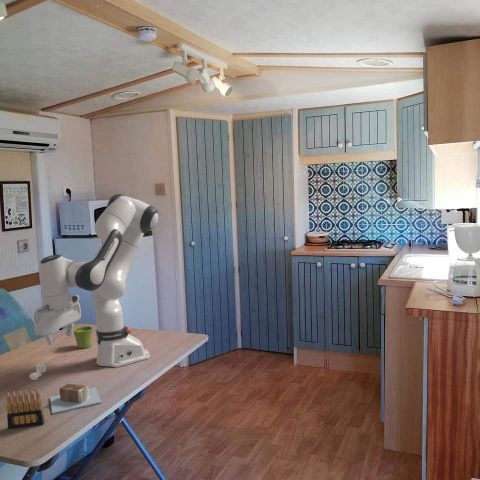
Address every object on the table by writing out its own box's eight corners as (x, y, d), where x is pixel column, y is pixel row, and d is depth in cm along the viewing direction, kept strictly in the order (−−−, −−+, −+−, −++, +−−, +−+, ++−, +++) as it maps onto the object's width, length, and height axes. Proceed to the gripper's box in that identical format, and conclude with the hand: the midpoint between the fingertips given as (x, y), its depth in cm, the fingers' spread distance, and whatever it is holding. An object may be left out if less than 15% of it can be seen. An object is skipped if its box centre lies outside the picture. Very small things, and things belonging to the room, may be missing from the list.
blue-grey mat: (95, 388, 184) (95, 387, 184) (101, 403, 171) (101, 401, 171) (50, 398, 178) (49, 396, 178) (52, 414, 165) (52, 412, 165)
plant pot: (70, 347, 234) (69, 329, 233) (89, 342, 240) (87, 324, 239) (79, 351, 227) (77, 333, 226) (98, 346, 234) (96, 328, 233)
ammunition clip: (7, 429, 156) (3, 393, 155) (9, 426, 158) (5, 391, 157) (43, 424, 158) (39, 389, 157) (44, 422, 160) (40, 386, 158)
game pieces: (38, 371, 206) (37, 363, 206) (46, 370, 207) (45, 363, 206) (29, 382, 195) (28, 374, 194) (37, 381, 195) (36, 373, 194)
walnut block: (67, 383, 177) (88, 386, 174) (69, 395, 178) (89, 397, 175) (59, 388, 173) (80, 391, 170) (60, 400, 174) (81, 403, 171)
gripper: (41, 310, 162) (46, 350, 164) (82, 294, 181) (86, 331, 183) (26, 309, 164) (31, 349, 166) (68, 294, 183) (72, 330, 185)
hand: (60, 339), depth 175 cm, fingers open, 8 cm apart
